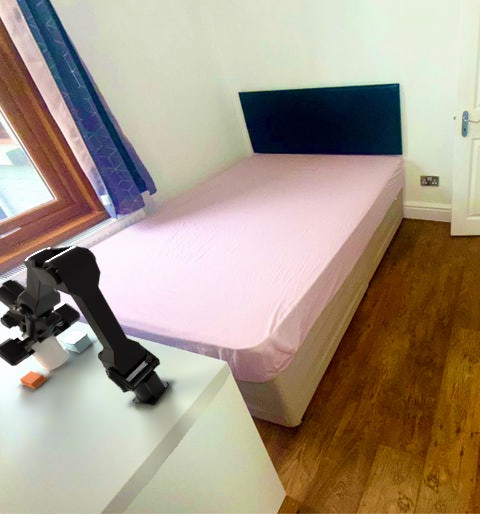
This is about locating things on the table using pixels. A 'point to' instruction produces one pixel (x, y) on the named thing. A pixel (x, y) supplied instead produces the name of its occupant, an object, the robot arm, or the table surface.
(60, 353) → the can
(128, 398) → the table surface
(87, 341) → the box
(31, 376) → the orange rectangular block
